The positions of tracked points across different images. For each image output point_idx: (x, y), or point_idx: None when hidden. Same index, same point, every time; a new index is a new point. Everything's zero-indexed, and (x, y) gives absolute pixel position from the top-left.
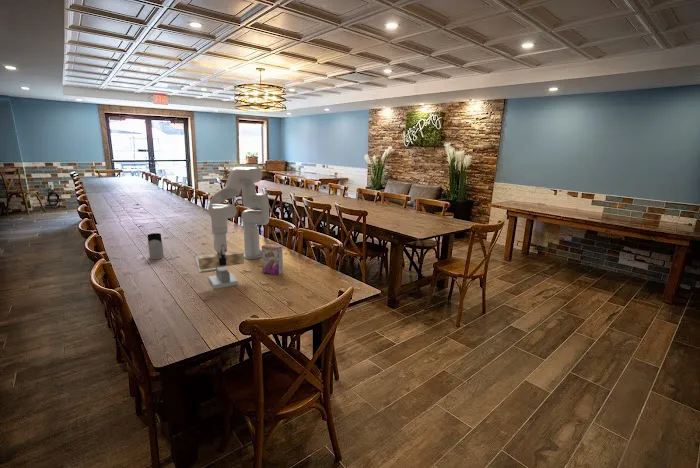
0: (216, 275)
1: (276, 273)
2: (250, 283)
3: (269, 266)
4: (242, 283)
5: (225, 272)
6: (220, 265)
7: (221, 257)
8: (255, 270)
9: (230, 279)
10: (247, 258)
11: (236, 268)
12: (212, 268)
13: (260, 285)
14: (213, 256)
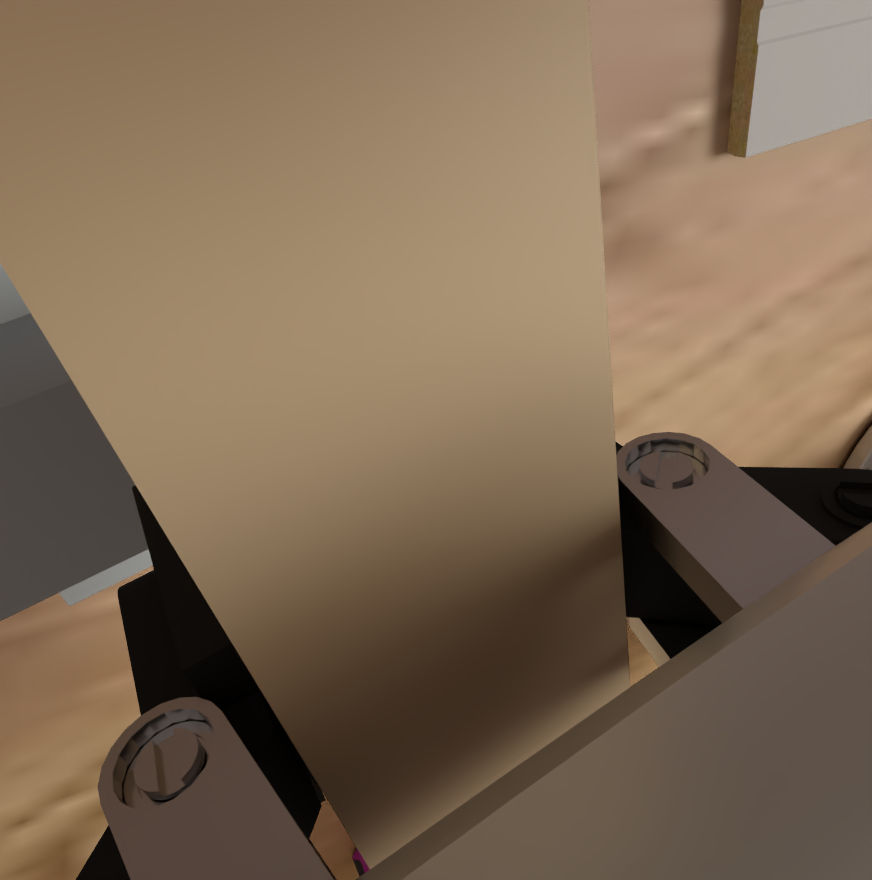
0: None
1: None
2: (110, 706)
3: None
4: (116, 610)
5: (57, 521)
6: (139, 493)
7: (97, 851)
8: None
9: None
10: (864, 443)
11: (684, 386)
12: (786, 56)
13: (17, 842)
14: (251, 441)
